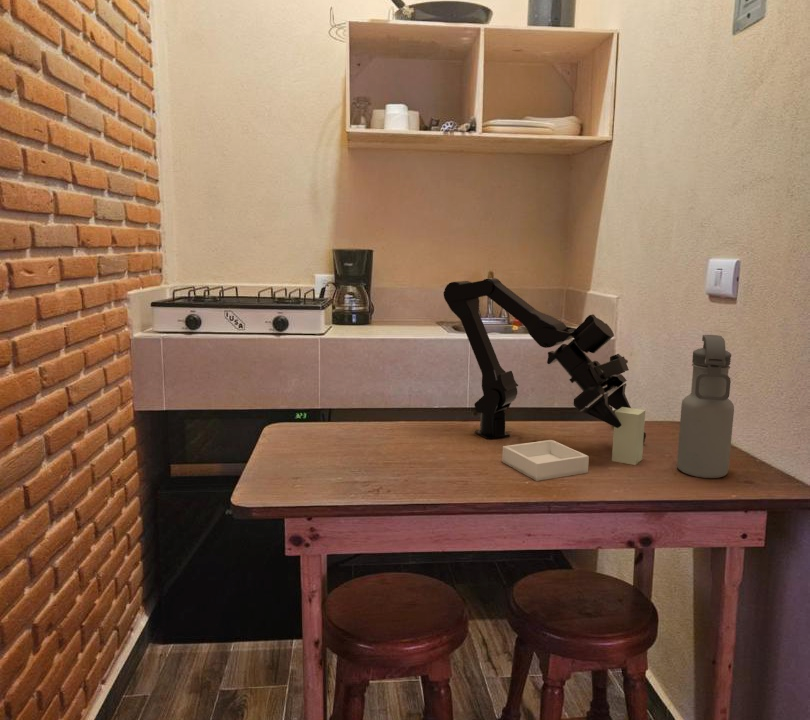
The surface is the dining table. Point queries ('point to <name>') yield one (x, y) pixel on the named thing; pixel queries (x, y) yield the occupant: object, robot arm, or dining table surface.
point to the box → (545, 460)
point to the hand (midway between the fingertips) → (626, 422)
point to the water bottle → (707, 413)
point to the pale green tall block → (628, 436)
